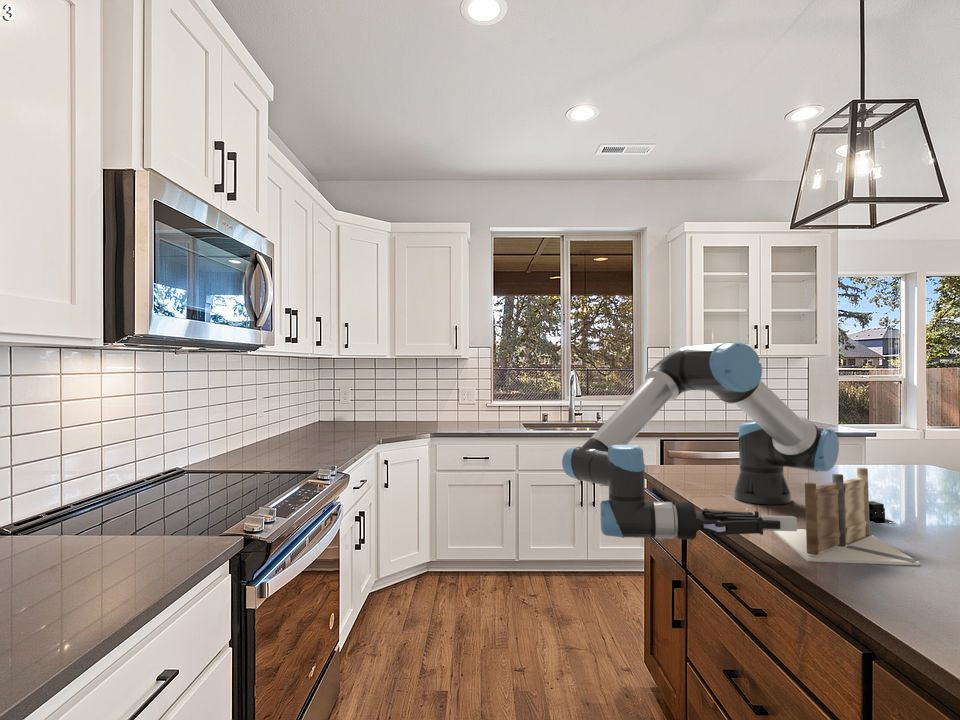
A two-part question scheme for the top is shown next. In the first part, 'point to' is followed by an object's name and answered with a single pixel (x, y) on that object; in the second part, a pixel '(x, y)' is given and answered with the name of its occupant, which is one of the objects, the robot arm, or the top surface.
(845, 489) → the fixed fence section
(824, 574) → the top surface
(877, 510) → the black blocky piece
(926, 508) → the top surface
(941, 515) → the top surface
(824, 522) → the panel
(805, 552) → the card
